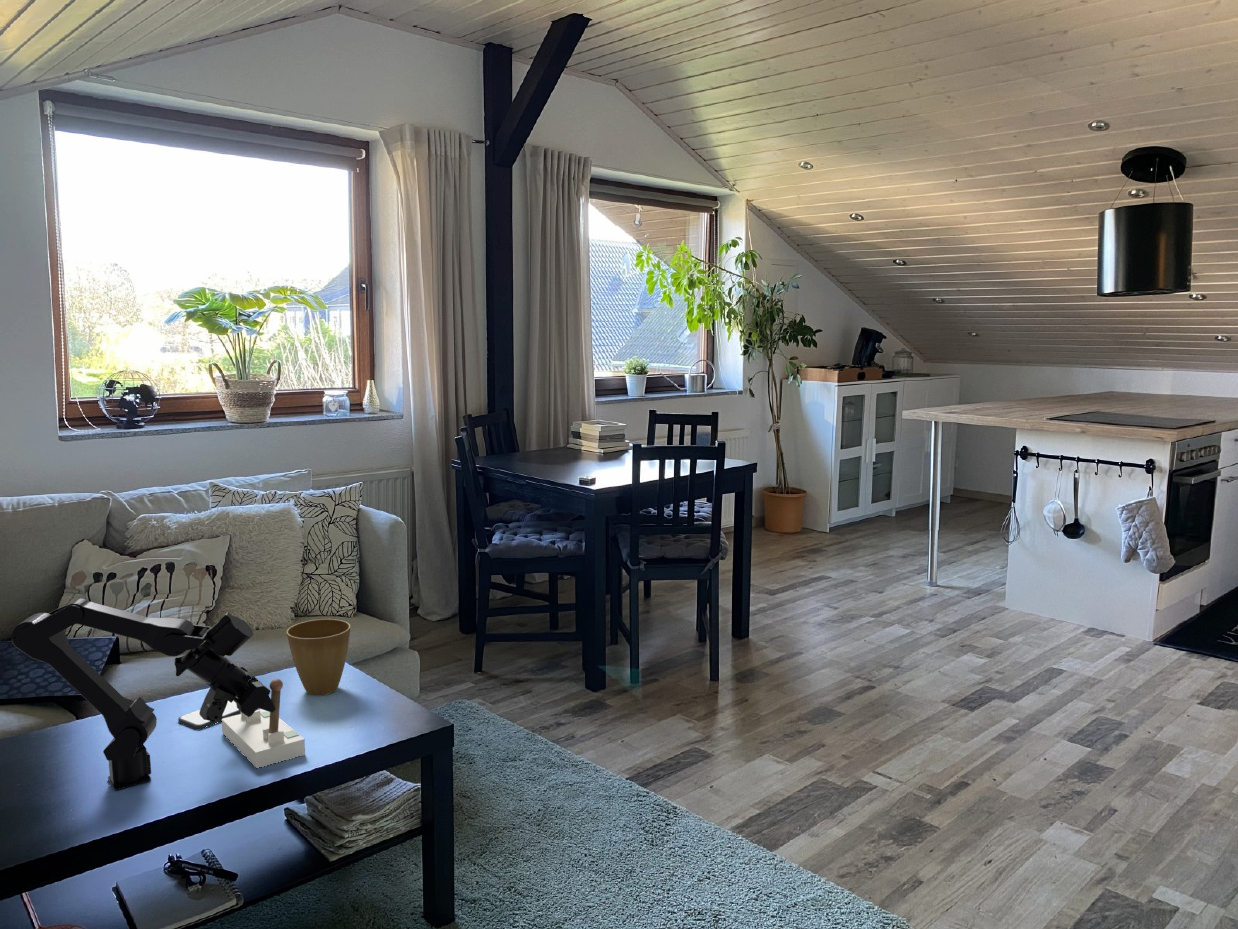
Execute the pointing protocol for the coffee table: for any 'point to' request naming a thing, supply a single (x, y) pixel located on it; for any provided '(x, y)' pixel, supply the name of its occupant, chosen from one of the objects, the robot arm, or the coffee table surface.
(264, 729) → the switch panel
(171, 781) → the coffee table surface
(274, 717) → the walnut lever
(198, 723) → the phone case
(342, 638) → the plant pot
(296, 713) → the coffee table surface
